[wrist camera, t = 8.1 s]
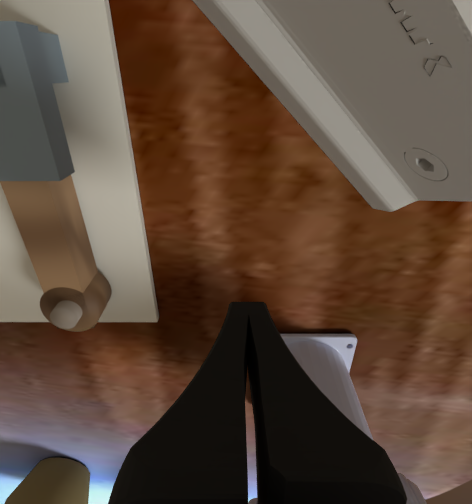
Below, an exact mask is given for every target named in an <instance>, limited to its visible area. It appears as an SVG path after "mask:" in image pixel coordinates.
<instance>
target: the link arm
mask: <svg viewBox="0 0 472 504" xmlns="http://www.w3.org/2000/svg"><path fill="white" fill-rule="evenodd" d="M0 184H1V186H2V189H3V191H4V194H5V196H6V199H7V201H8V204H9V206H10V209H11V212H12V214H13V217H14V219H15V222H16V224H17V227H18V229H19V232H20V234H21V237H22V239H23V242H24V244H25V247H26V250H27V252H28V255H29V257H30V260H31V262H32V265H33V267H34V270H35V272H36V275H37V277H38V280H39V283H40V285H41V288H42V290H43V293H44V294H43V295H42V297H41V299H40V309H41V311H42V313H43V315H44V316H45V318H46V319H47V320H48V321H49V322H51V323H52V324H53V325H55V326H57V328H61V329H64V330H67V331H73V332H80V331H85V330H88V329H90V328H94V327H95V326H96V324H97V322H98V320H99V318H100V317H101V315H102V313H103V311H104V309H105V308H106V306H107V303H108V301H109V299H110V298H111V294H112V290H111V286H110V284H109V282H108V280H107V279H106V278H105V277H104V276H103V275H102V274H101V273H100V272H98V270H97V266H96V262H95V259H94V255H93V252H92V248H91V244H90V241H89V237H88V234H87V230H86V226H85V223H84V219H83V216H82V212H81V208H80V205H79V201H78V198H77V194H76V190H75V187H74V183H73V180H72V176H71V175H69V176H68V177H66V178H64V179H63V180H61V181H0Z"/></svg>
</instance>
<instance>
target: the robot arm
mask: <svg viewBox="0 0 472 504" xmlns="http://www.w3.org/2000/svg"><path fill="white" fill-rule="evenodd" d="M348 344H350V345H348ZM356 344H357V338H356V336H355V335H353V334H279V332H278V330H277V328H276V326H275V324H274V322H273V320H272V318H271V316H270V314H269V311H268V309H267V306H266V304H265V303H264V302H231V303H230V304H229V308H228V312H227V315H226V318H225V321H224V324H223V326H222V328H221V331H220V333H219V335H218V337H217V339H216V341H215V343H214V345H213V347H212V349H211V351H210V352H209V354H208V356H207V358H206V359H205V361H204V363H203V364H202V366H201V368H200V369H199V371H198V372H197V374H196V375H195V377H194V378H193V379H192V381H191V382H190V383H189V385H188V386H187V387H186V389H185V390H184V391H183V393H182V394H181V395H180V397H179V398H178V399H177V400H176V401H175V403H174V404H173V405H172V406H171V407H170V408H169V409H168V411H167V412H166V413H165V414H164V415H163V416H162V417H161V418H160V420H159V421H158V422H157V423H156V424H155V425H154V426H153V427H152V428H151V429H150V430H149V431H148V432H147V433H146V434H145V435H144V436H143V437H142V438H141V439H140V440H139V441H138V442H136V443H135V444H134V445H133V446H132V447H131V449H130V451H129V452H128V454H127V456H126V458H125V460H124V462H123V465H122V467H121V469H120V471H119V473H118V476H117V478H116V481H115V483H114V486H113V489H112V493H111V496H110V499H109V503H108V504H426V502H425V499H424V498H423V496H422V494H421V492H420V490H419V488H418V487H417V486H416V485H415V484H414V483H413V482H411V481H410V480H408V479H406V478H405V476H404V475H403V474H401V473H397V472H396V470H395V468H394V466H393V464H392V462H391V460H390V459H389V457H388V455H387V453H386V451H385V450H384V449H383V448H382V447H381V446H379V445H378V444H377V443H376V442H375V441H373V438H372V435H371V433H370V430H369V427H368V424H367V422H366V419H365V416H364V413H363V411H362V408H361V405H360V402H359V400H358V397H357V394H356V391H355V389H354V386H353V383H352V380H351V378H350V375H349V371H350V367H351V363H352V359H353V356H354V352H355V348H356ZM247 365H248V374H249V382H250V390H251V398H252V406H253V414H254V423H255V438H256V466H257V496H258V498H254V499H251V500H250V501H249V502H248V476H247V448H246V419H245V392H246V378H247Z"/></svg>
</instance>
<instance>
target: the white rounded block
mask: <svg viewBox="0 0 472 504" xmlns="http://www.w3.org/2000/svg"><path fill="white" fill-rule="evenodd" d="M193 1H194V3H195V4H196V5H197V6H198V7H199V8H200V10H201V11H202V12H203V13H204V14H205V15H206V16H207V18H208V19H209V20H210V21H211V22H212V23H213V25H214V26H215V27H216V28H217V29H218V30H219V31H220V33H221V34H222V35H223V36H224V37H225V38H226V40H227V41H228V42H229V43H230V44H231V45H232V46H233V48H234V49H235V50H236V51H237V52H238V53H239V55H240V56H241V57H242V58H243V59H244V60H245V61H246V63H247V64H248V65H249V66H250V67H251V68H252V70H253V71H254V72H255V73H256V74H257V75H258V76H259V78H260V79H261V80H262V81H263V82H264V83H265V85H266V86H267V87H268V88H269V89H270V90H271V91H272V93H273V94H274V95H275V96H276V97H277V98H278V100H279V101H280V102H281V103H282V104H283V105H284V107H285V108H286V109H287V110H288V111H289V112H290V113H291V115H292V116H293V117H294V118H295V119H296V120H297V122H298V123H299V124H300V125H301V126H302V127H303V128H304V130H305V131H306V132H307V133H308V134H309V135H310V137H311V138H312V139H313V140H314V141H315V142H316V143H317V145H318V146H319V147H320V148H321V149H322V150H323V152H324V153H325V154H326V155H327V156H328V157H329V158H330V160H331V161H332V162H333V163H334V164H335V165H336V167H337V168H338V169H339V170H340V171H341V172H342V173H343V175H344V176H345V177H346V178H347V179H348V180H349V182H350V183H351V184H352V185H353V186H354V187H355V188H356V190H357V191H358V192H359V193H360V194H361V195H362V197H363V198H364V199H365V200H366V201H367V202H368V203H369V205H370V206H371V207H372V208H374V209H379V210H384V211H389V212H391V211H395V210H397V209H399V208H401V207H404V206H406V205H408V204H410V203H412V202H415V201H418V200H431V201H472V0H193Z"/></svg>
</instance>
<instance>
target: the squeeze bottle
mask: <svg viewBox="0 0 472 504" xmlns="http://www.w3.org/2000/svg"><path fill="white" fill-rule="evenodd" d="M89 482H90V472H89V471H88V469H87V468H86V467H85V466H83V465H82V464H81V463H79V462H76V461H73V460H71V459H66V458H59V457H57V458H47V459H44V460H41V461H40V462H39V463H38V464H37V465H36V466H35V467H34V469H33V470H32V471H31V472H30V473H29V474H28V475H27V477H26V478H25V479H24V480H23V481H22V482H21V483H20V484H19V486H18V487H17V488H16V489H15V490H14V491H13V492H12V493H11V495H10V496H9V497H8V498H7V499H6V502H5V504H88V496H89Z"/></svg>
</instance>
